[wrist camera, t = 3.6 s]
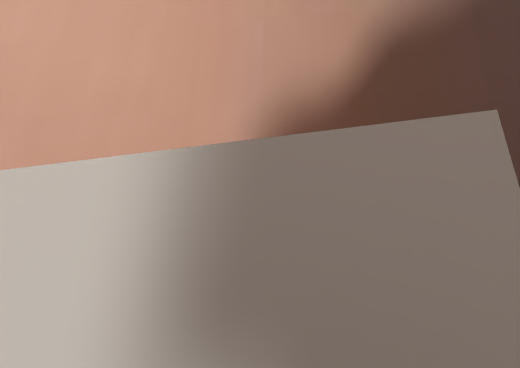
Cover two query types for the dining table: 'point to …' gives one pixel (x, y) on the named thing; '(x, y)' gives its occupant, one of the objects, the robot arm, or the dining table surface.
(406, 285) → the cream block
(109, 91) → the dining table surface
